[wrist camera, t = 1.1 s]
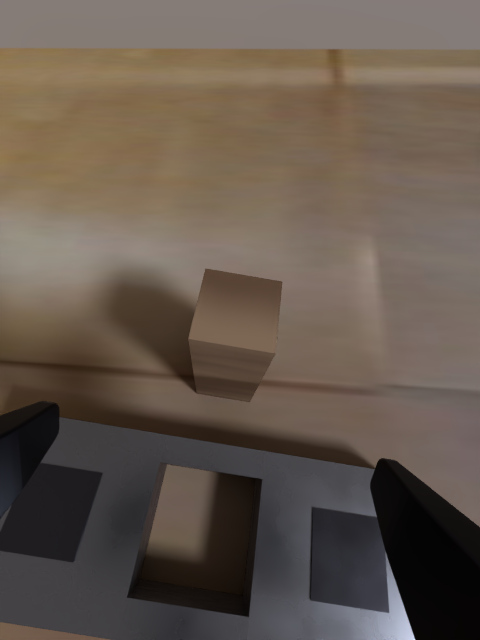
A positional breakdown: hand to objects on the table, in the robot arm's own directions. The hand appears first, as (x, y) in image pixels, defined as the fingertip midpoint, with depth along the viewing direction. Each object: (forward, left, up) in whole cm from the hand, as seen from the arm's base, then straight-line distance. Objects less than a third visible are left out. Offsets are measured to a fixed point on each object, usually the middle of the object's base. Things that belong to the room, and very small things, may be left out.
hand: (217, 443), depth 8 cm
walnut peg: (+6, +3, -14) cm, 15 cm away
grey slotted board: (-3, -2, -13) cm, 14 cm away
